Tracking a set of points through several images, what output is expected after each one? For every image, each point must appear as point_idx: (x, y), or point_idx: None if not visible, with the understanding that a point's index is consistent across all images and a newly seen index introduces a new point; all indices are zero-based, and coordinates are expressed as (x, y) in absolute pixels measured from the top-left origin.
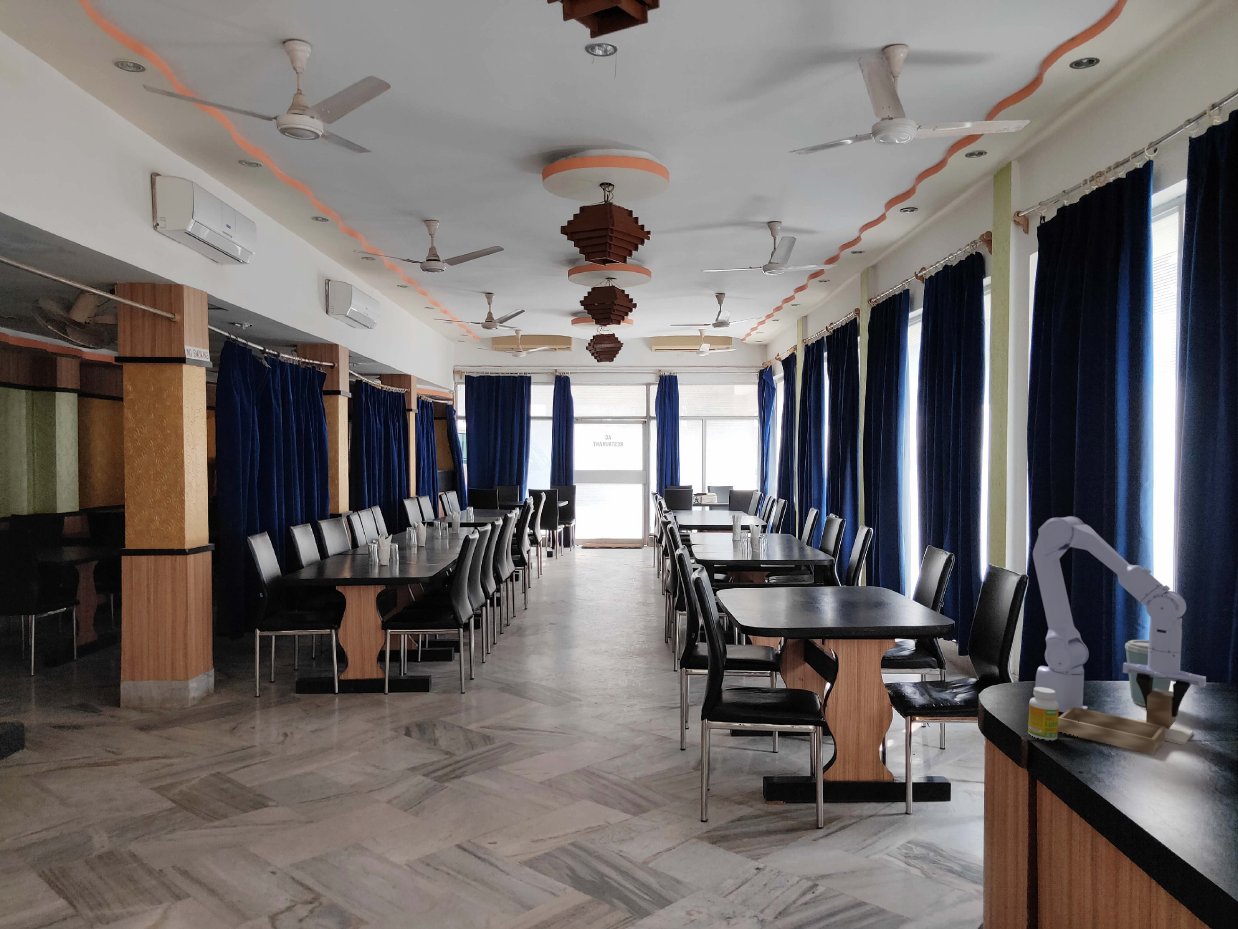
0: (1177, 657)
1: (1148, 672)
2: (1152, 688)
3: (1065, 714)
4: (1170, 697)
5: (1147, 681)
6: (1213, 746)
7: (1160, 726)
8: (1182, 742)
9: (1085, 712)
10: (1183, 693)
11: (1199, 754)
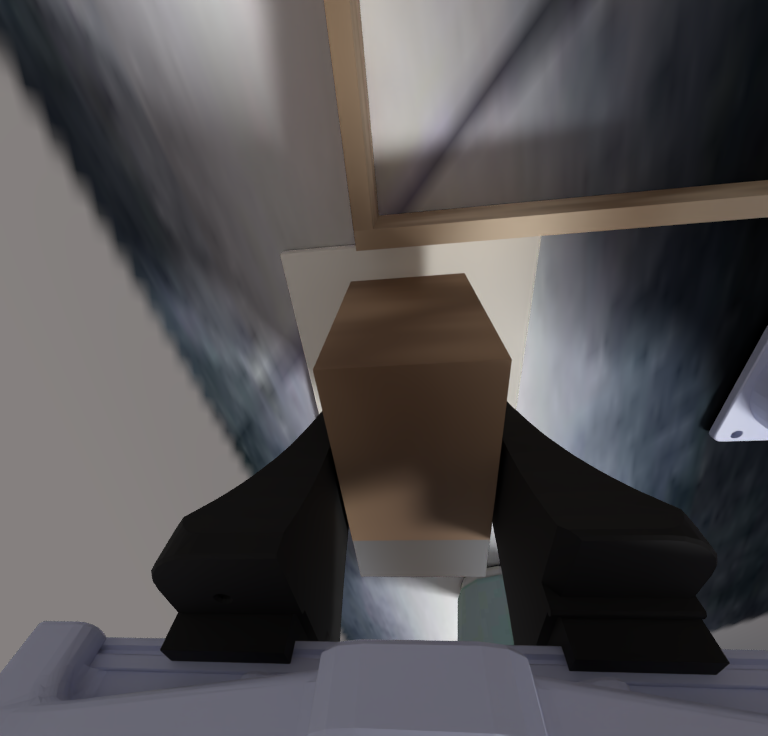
0: None
1: (635, 716)
2: (502, 638)
3: None
4: (346, 458)
5: (573, 535)
6: (218, 340)
7: (377, 230)
8: (290, 251)
9: None
10: (221, 497)
11: (179, 146)
